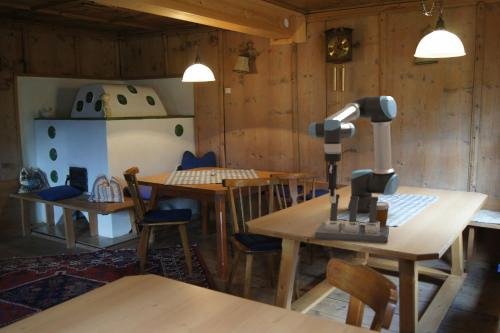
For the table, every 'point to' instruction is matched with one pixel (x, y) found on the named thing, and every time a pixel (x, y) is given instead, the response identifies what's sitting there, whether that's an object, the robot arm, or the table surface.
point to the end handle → (373, 209)
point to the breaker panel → (353, 231)
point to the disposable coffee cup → (382, 213)
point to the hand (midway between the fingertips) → (332, 202)
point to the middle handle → (353, 208)
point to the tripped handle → (334, 209)
